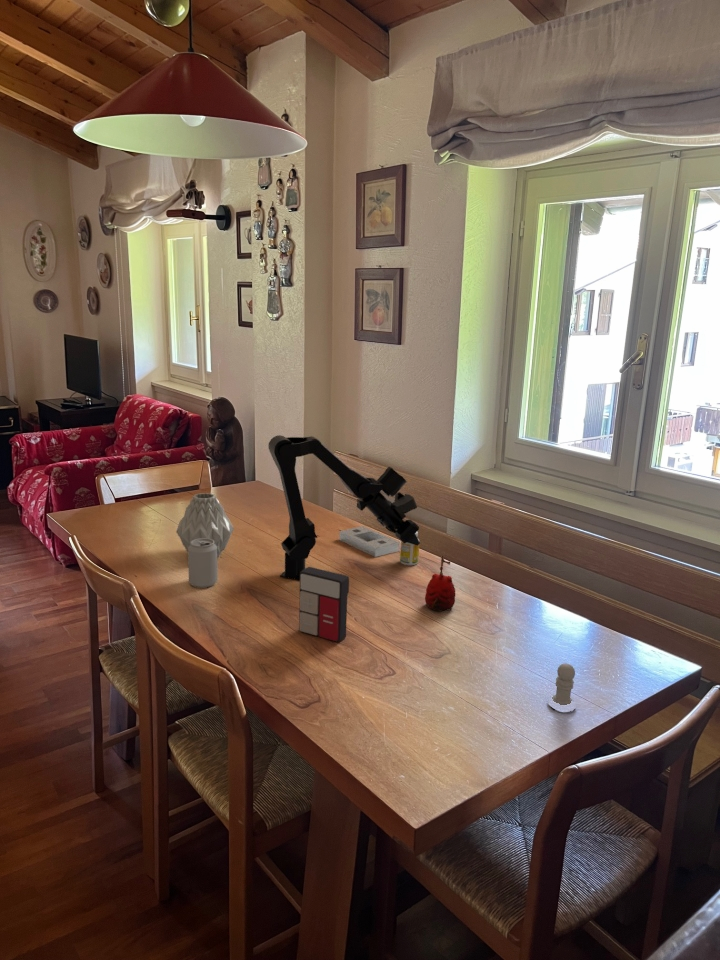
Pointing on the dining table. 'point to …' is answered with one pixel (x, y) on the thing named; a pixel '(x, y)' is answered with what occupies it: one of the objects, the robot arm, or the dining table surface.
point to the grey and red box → (323, 603)
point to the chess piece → (564, 684)
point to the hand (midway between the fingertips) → (414, 541)
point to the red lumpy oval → (440, 591)
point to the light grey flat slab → (375, 546)
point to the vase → (205, 522)
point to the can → (202, 563)
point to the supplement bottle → (409, 553)
